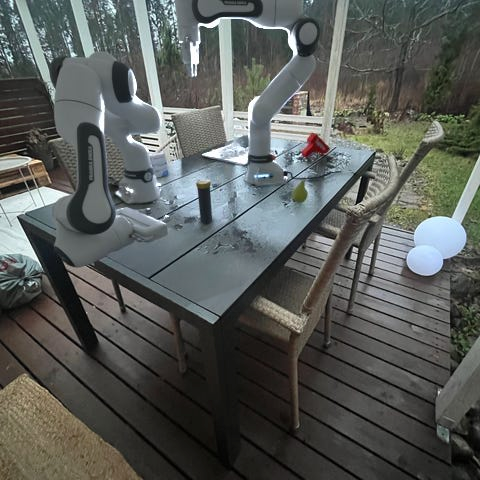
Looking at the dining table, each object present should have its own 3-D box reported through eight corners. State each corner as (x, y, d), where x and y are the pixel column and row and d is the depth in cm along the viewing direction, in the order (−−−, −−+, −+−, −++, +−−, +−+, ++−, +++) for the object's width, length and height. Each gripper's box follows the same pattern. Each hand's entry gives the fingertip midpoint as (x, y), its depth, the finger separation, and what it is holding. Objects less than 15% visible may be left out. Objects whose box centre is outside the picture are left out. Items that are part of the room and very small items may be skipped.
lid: (213, 186, 99) (213, 181, 98) (201, 189, 97) (200, 185, 96) (205, 182, 103) (205, 177, 102) (193, 185, 100) (193, 180, 99)
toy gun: (302, 154, 174) (315, 133, 171) (298, 152, 177) (311, 132, 174) (316, 167, 185) (330, 148, 182) (312, 166, 188) (325, 147, 185)
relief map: (243, 165, 166) (243, 156, 164) (202, 156, 184) (201, 148, 181) (267, 155, 185) (267, 147, 182) (227, 147, 202) (227, 140, 200)
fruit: (288, 200, 123) (290, 174, 116) (302, 197, 125) (305, 172, 119) (296, 206, 118) (299, 179, 111) (310, 203, 120) (314, 177, 114)
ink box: (164, 172, 156) (160, 151, 150) (168, 174, 153) (165, 153, 147) (150, 176, 151) (146, 154, 145) (155, 178, 148) (151, 156, 142)
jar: (214, 221, 107) (212, 182, 99) (204, 224, 105) (201, 185, 96) (208, 216, 110) (205, 179, 102) (198, 220, 108) (194, 182, 99)
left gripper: (140, 233, 70) (180, 213, 80) (98, 212, 81) (138, 197, 90) (145, 253, 74) (182, 232, 83) (104, 231, 84) (141, 214, 94)
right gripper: (192, 34, 104) (196, 76, 111) (199, 39, 121) (202, 75, 128) (176, 34, 104) (180, 76, 111) (185, 39, 121) (189, 75, 128)
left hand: (159, 214), depth 87 cm, fingers open, 8 cm apart
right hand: (192, 76), depth 120 cm, fingers open, 8 cm apart
